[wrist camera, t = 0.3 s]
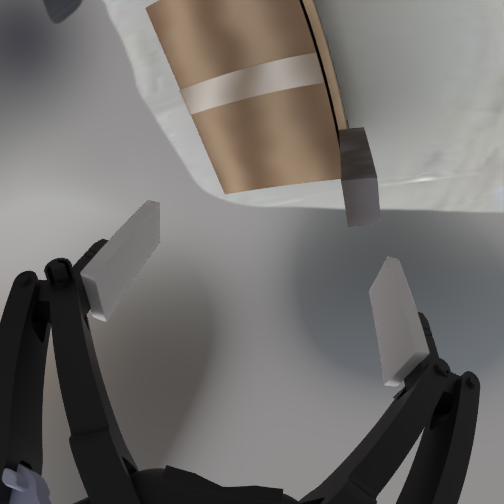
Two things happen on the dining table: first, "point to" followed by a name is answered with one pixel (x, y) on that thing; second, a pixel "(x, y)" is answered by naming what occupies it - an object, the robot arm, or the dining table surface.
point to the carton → (252, 89)
